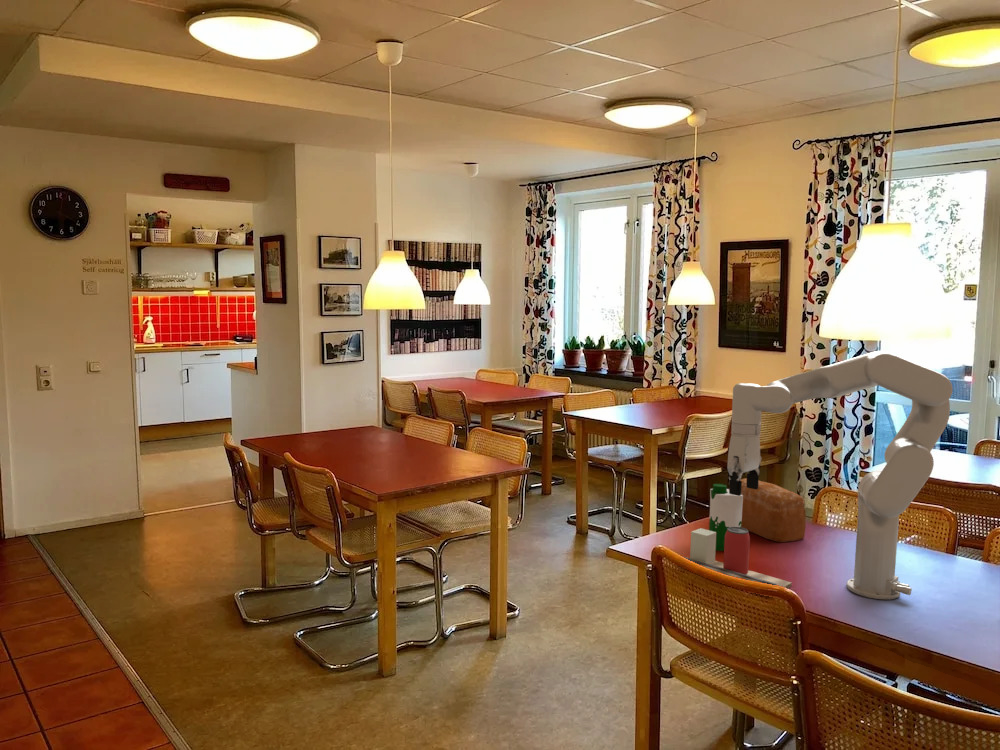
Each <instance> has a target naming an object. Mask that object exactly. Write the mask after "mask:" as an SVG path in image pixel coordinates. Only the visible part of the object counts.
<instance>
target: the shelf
mask: <svg viewBox="0 0 1000 750" xmlns="http://www.w3.org/2000/svg"><path fill="white" fill-rule="evenodd" d="M683 557H684V558H686V559H688V560H690V561H693V562H695V563H697V564H699V565H702V566H704V567H706V568H709V569H712V570H714V571H717V572H721V573H723V574H726V575H729V576H734V577H738V578H743V579H746V580H751V581H757V582H762V583H767V584H772V585H779V586H783V587H786V588H787V589H789V588H790V587H792V584H793V583H792V581H787V580H784V579H781V578H777V577H774V576H771V575H767V574H764V573H761V572H760V573H759V572H757V571H753V570H749V569H748V573H747V574H746V575H745V574H741V573H738V572H735V571H731V570H728V569H724V568H723V563H724V562H721V561H718V560H715V563H714V564H712V565H711V564H707V563H704V562H700V561H697V560H694V559H690V557H686V556H683Z"/></svg>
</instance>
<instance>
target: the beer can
mask: <svg viewBox="0 0 1000 750" xmlns="http://www.w3.org/2000/svg"><path fill="white" fill-rule="evenodd" d="M750 544H751V537H750V532H749V531H748V530H747V529H745V528H741V527H729V528H727V532H726V534H725V544H724V551H723V562H722V563H723V568H724V569H728V570H731V571H735V572H738V573H741V574H745V575H746V574H747V573H748V570H749V565H750Z"/></svg>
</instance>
